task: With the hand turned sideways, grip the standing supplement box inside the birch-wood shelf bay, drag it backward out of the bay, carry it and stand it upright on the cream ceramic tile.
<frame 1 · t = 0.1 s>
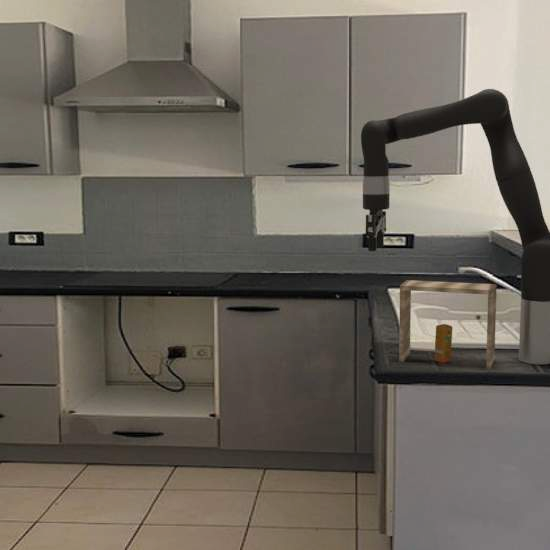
hand: (376, 249, 237), 29 cm above the worktop, tool pointing down, fingers open, 8 cm apart
shelf bay: (446, 361, 227), on the worktop
supplement box: (443, 361, 227), on the worktop
tile pad: (427, 346, 244), on the worktop
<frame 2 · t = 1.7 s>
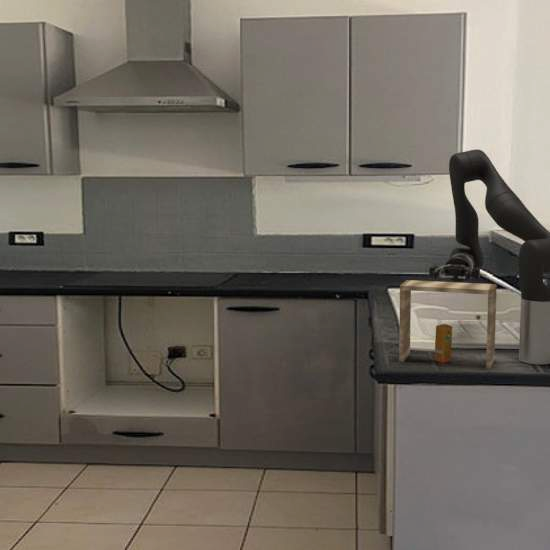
hand: (451, 275, 235), 22 cm above the worktop, tool horizontal, fingers open, 8 cm apart
nothing on the worktop moved.
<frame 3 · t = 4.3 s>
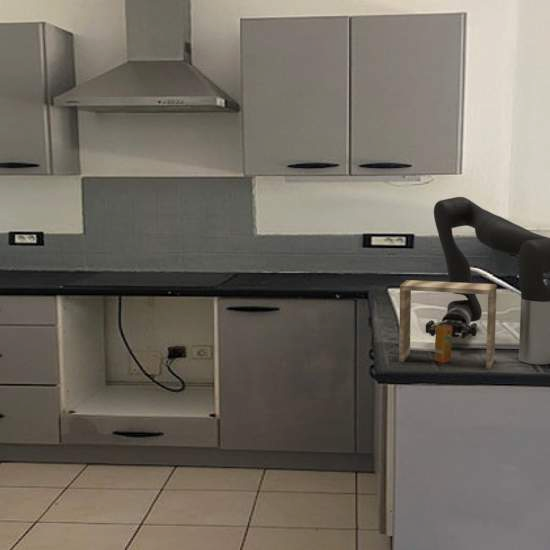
hand: (447, 333, 233), 6 cm above the worktop, tool horizontal, fingers open, 8 cm apart
nothing on the worktop moved.
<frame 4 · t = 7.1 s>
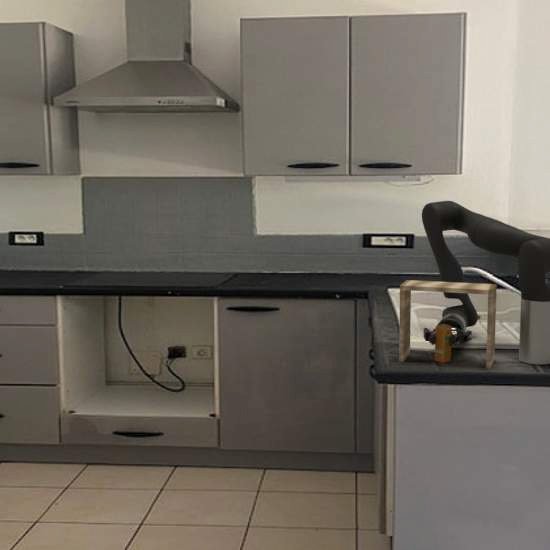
hand: (441, 341, 224), 6 cm above the worktop, tool horizontal, fingers closed on supplement box, 4 cm apart
supplement box: (443, 361, 227), on the worktop, touching gripper
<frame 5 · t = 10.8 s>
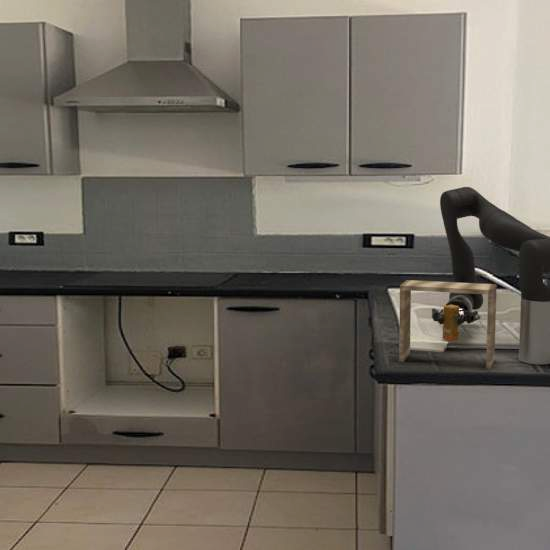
hand: (449, 321, 235), 9 cm above the worktop, tool horizontal, fingers closed on supplement box, 4 cm apart
supplement box: (450, 340, 239), point 3 cm above the worktop, touching gripper
when the fingers open (8 cm above the worktop, at t = 14.5 s): supplement box drops 1 cm, resting on tile pad.
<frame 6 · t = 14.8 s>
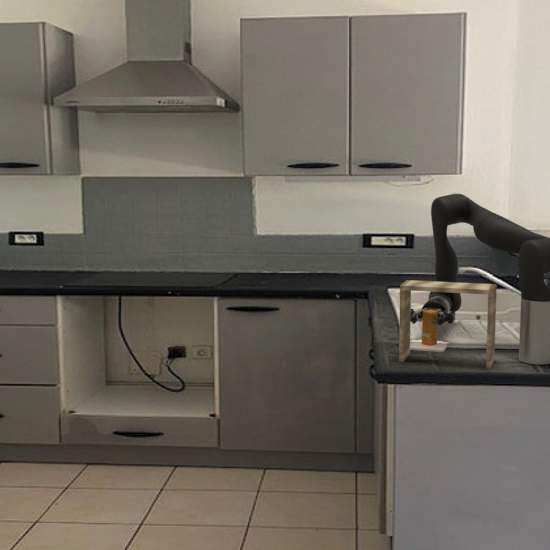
hand: (426, 321, 240), 8 cm above the worktop, tool horizontal, fingers open, 7 cm apart
supplement box: (429, 344, 244), resting on tile pad
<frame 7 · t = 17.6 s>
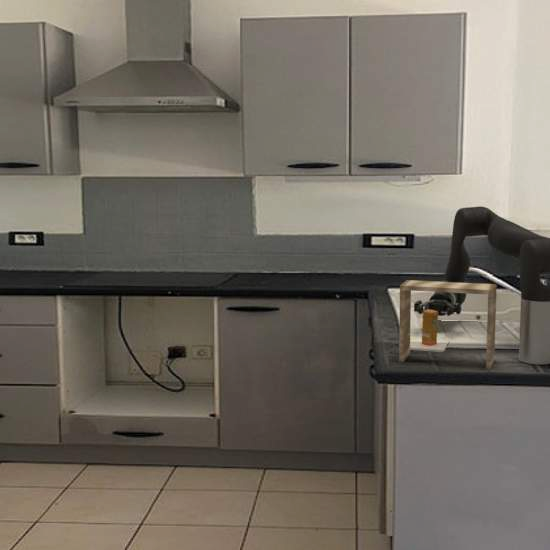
hand: (434, 311, 252), 8 cm above the worktop, tool horizontal, fingers open, 8 cm apart
nothing on the worktop moved.
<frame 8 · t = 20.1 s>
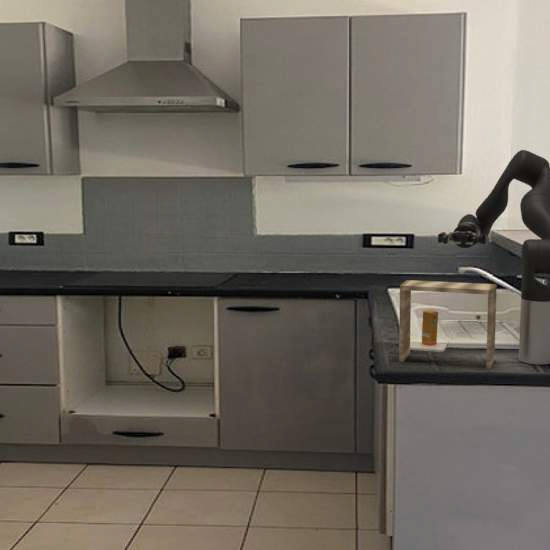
hand: (459, 240, 247), 30 cm above the worktop, tool horizontal, fingers open, 8 cm apart
nothing on the worktop moved.
at the end: supplement box inside the target area on the tile pad (0.6 cm from its centre), point 0.4 cm above the tile pad's base; supplement box tilted 0°; the gripper is holding nothing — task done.
